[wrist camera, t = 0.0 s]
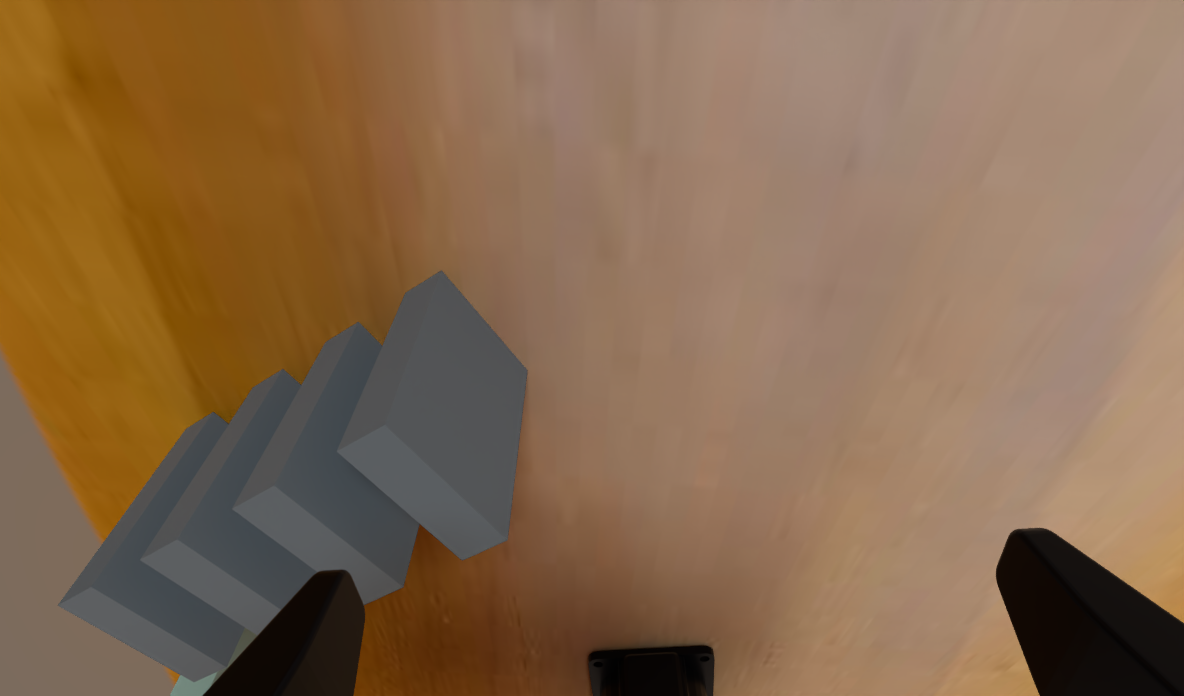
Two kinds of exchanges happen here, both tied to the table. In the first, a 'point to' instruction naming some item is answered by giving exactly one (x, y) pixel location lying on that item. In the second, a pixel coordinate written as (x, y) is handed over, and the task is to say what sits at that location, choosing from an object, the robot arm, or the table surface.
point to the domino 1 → (156, 575)
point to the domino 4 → (442, 419)
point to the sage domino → (190, 692)
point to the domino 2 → (232, 522)
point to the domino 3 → (330, 479)
